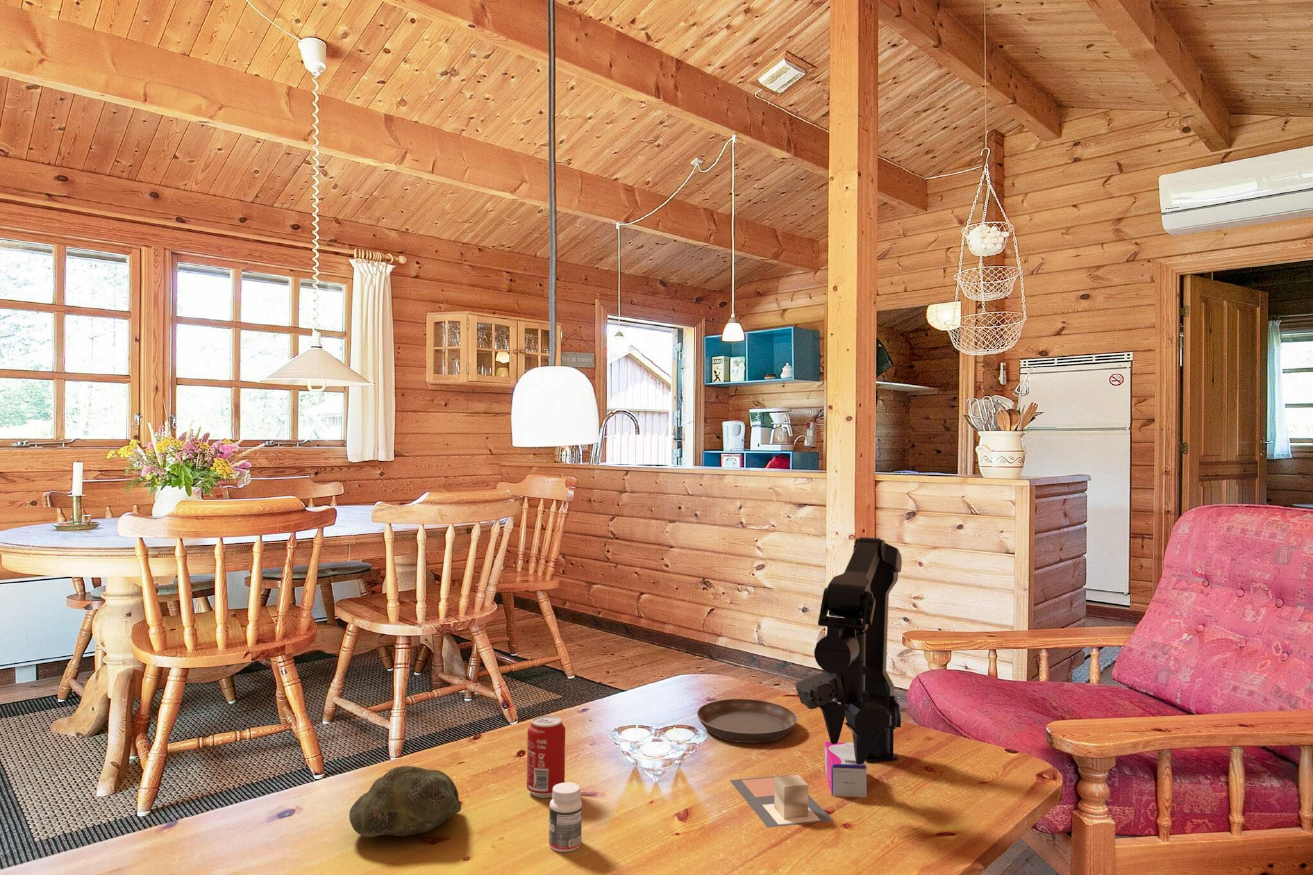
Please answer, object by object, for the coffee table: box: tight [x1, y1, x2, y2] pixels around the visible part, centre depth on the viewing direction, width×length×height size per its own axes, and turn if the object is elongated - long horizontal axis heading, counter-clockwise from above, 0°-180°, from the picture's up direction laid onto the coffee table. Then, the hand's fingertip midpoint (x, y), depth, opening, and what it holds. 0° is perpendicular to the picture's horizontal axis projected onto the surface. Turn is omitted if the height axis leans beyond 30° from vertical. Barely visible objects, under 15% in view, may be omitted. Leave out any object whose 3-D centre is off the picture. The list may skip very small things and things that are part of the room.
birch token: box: [774, 774, 809, 819], centre depth 129 cm, size 4×4×5 cm
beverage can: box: [526, 715, 566, 799], centre depth 137 cm, size 6×6×12 cm
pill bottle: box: [548, 781, 583, 853], centre depth 119 cm, size 5×5×8 cm
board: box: [729, 774, 835, 828], centre depth 134 cm, size 11×18×1 cm, turn 14°
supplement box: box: [824, 741, 868, 798], centre depth 141 cm, size 6×6×12 cm
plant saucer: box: [696, 698, 798, 744], centre depth 170 cm, size 21×21×3 cm
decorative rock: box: [348, 765, 462, 838], centre depth 123 cm, size 15×16×10 cm
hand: (846, 753), depth 135 cm, fingers open, 9 cm apart
